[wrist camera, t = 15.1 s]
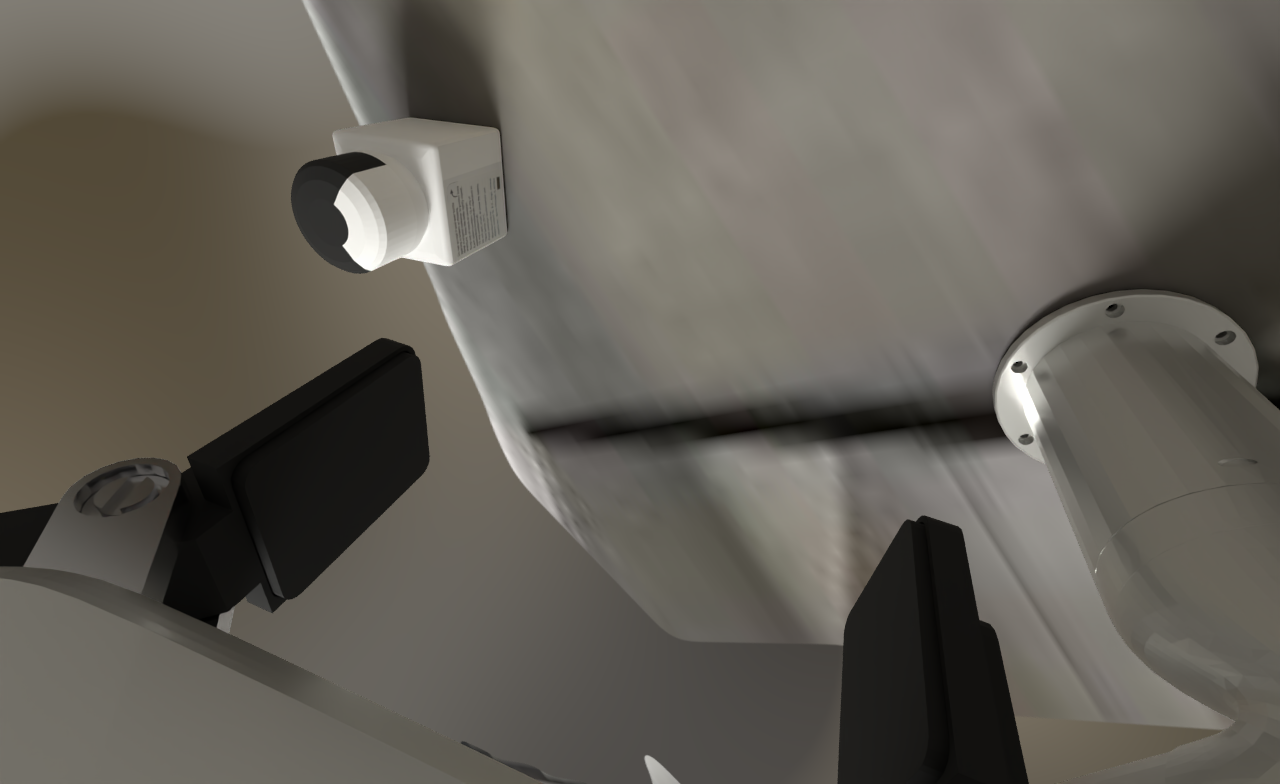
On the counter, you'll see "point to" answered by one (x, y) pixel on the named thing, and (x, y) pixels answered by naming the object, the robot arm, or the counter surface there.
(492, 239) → the container
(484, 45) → the counter surface
